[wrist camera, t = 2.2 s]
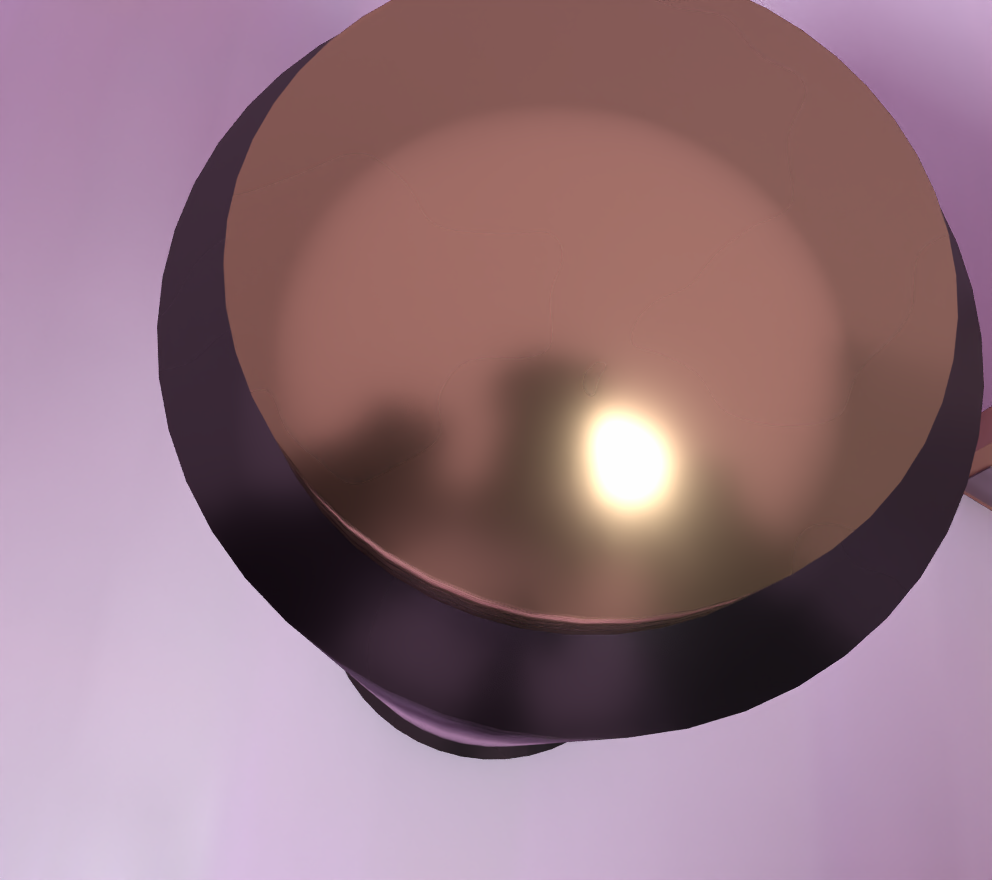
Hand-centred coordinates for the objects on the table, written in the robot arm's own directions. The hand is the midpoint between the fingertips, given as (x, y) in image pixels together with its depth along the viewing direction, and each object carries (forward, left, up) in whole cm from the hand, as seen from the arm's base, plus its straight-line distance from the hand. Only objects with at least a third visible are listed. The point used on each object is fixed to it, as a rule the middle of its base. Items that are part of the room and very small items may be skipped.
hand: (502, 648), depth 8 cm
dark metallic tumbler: (+2, +1, -10) cm, 10 cm away
